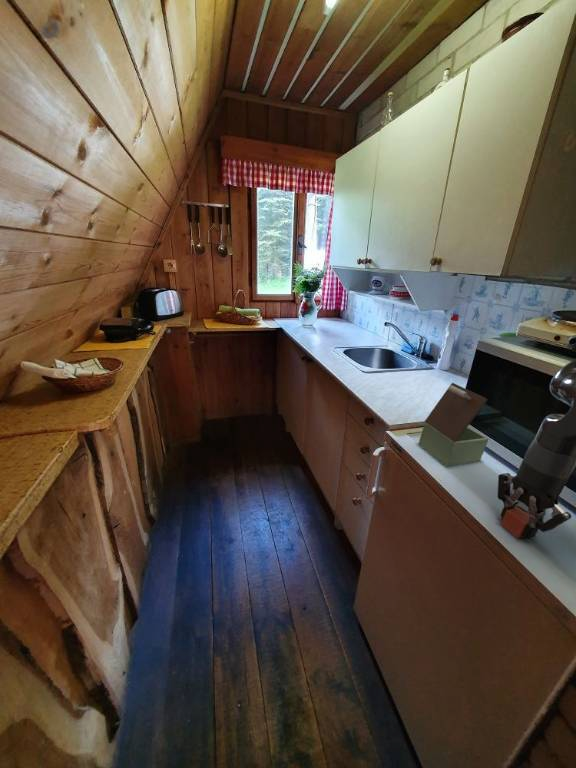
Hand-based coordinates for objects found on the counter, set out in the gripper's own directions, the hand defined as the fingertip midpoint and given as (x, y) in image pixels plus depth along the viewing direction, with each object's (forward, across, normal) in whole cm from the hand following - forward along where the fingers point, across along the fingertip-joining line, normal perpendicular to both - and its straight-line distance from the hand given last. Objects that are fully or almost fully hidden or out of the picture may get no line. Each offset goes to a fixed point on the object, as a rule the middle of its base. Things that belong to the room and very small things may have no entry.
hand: (515, 528), depth 68 cm
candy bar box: (0, +7, -13) cm, 15 cm away
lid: (-14, +28, -6) cm, 32 cm away
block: (0, 0, 0) cm, 0 cm away
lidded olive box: (0, +28, -10) cm, 30 cm away
